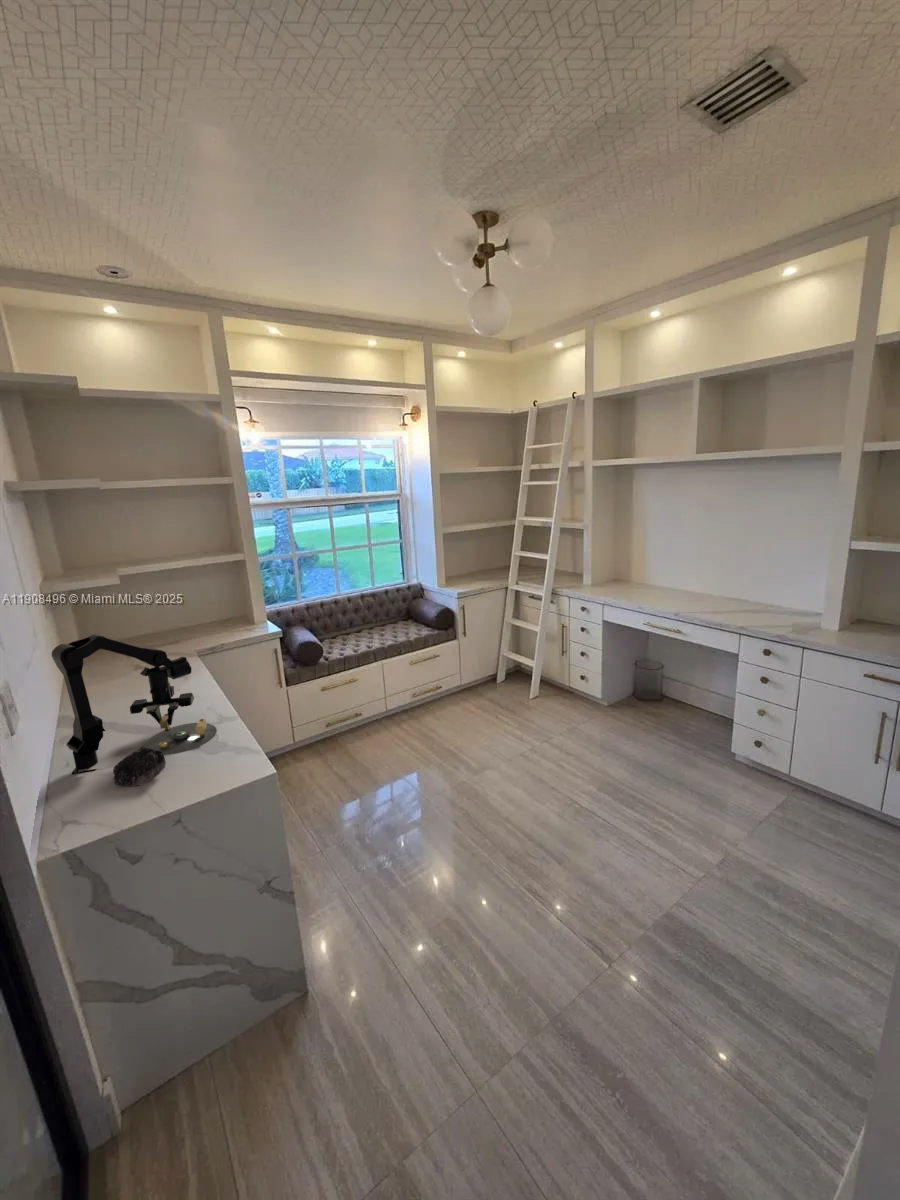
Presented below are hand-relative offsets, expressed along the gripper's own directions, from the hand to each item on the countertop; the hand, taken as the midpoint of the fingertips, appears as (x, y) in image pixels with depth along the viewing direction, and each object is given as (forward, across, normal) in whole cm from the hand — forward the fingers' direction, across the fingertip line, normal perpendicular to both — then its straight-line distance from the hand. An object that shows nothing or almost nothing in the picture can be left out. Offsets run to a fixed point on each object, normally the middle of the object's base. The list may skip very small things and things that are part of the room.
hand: (166, 725), depth 176 cm
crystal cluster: (+4, +2, +26) cm, 27 cm away
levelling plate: (+3, -6, +7) cm, 10 cm away
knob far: (+2, 0, 0) cm, 2 cm away
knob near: (+2, -13, +9) cm, 16 cm away
